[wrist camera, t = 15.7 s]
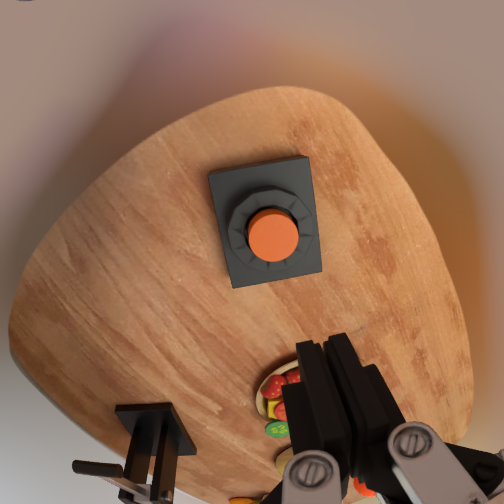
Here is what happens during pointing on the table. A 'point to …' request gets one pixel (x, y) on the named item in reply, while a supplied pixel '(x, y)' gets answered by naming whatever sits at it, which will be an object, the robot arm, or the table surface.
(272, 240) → the button
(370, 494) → the clementine
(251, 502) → the rattle
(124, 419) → the bracket
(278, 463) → the bread roll
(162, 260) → the table surface
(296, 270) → the control block
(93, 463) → the lever
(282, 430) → the toy food set
